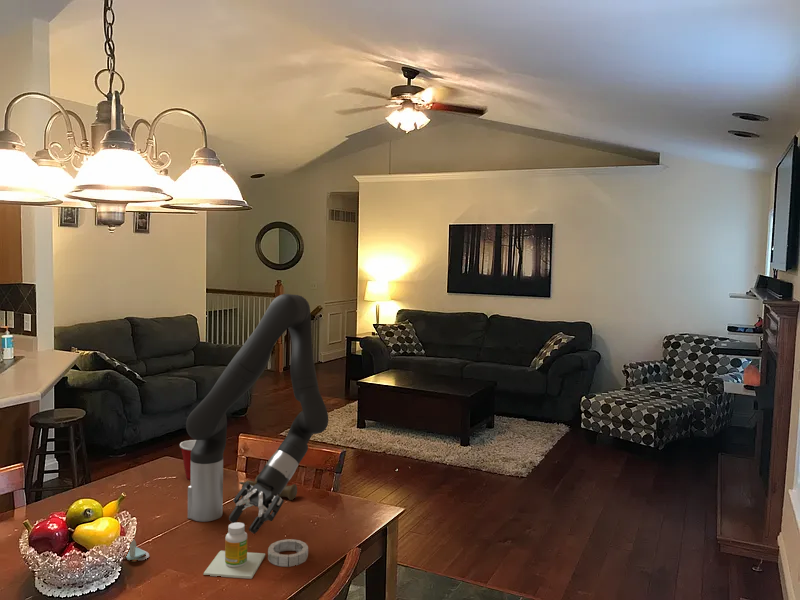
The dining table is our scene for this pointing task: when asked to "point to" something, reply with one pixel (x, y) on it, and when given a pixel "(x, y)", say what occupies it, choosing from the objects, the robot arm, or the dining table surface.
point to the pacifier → (136, 552)
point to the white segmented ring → (287, 559)
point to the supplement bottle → (236, 545)
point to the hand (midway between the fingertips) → (241, 526)
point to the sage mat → (243, 571)
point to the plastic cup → (187, 456)
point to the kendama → (287, 492)
